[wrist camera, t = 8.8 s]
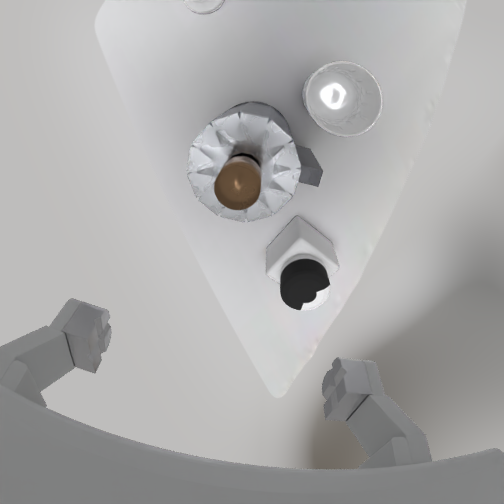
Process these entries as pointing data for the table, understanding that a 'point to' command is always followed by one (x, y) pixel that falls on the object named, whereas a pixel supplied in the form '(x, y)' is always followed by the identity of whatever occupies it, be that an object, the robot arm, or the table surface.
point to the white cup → (343, 98)
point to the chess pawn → (203, 5)
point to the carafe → (262, 148)
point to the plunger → (239, 182)
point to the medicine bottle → (301, 265)
